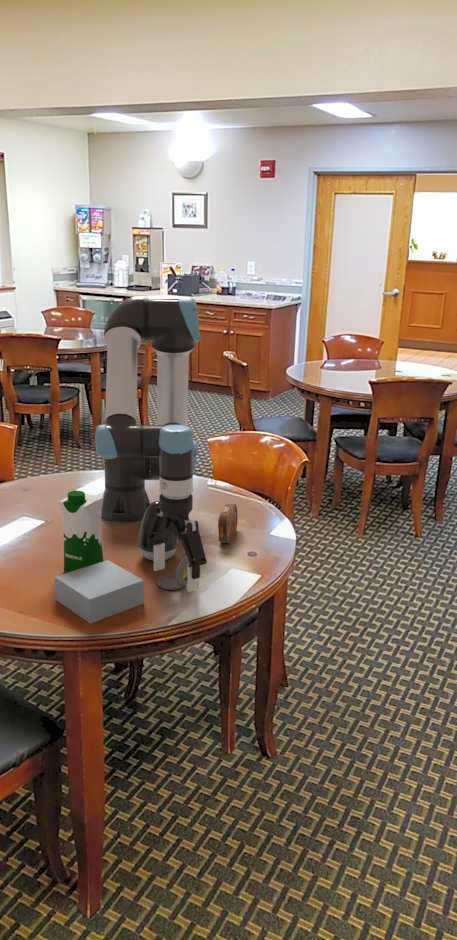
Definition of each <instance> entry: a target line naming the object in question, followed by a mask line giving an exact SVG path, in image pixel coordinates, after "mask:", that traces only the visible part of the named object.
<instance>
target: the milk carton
mask: <svg viewBox="0 0 457 940" xmlns="http://www.w3.org/2000/svg"><path fill="white" fill-rule="evenodd" d="M103 498H104V497H103V496H99V495H95V494H89V493H85V492H84V491H81V490H71V491H69V492H68V493H67V497H65V498H63V499H61V500H59V501H58V503H59V507H60V511H61V515H62V536H63V570H64V571H68V572H72V571H75V570H78V569H81V568H84V567H87V566H91V565H94V564H97V563H100V562H103V561H104V553H103V541H102V540H103V539H102V538H103V534H102V517H101V512H102V505H103Z"/></svg>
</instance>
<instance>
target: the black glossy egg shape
mask: <svg viewBox="0 0 457 940" xmlns="http://www.w3.org/2000/svg"><path fill="white" fill-rule="evenodd" d="M155 507H159V500H155V501H152V502H150V505H149V506H148V507H147V509H146V511H145V513H144V516H143V519H141V523H140V526H139V532H138V539H137V546H138V548H139V550H140V553H141V555H142V556H143V557H144V558H145V559H147V560H148V561H151V562H154V555H153V544H152V542H151V539H148V538H147V535H148V532H149V529H150V526H151V523H152V520H153V517H154V512H155ZM161 543H164V544H165V561H166V560H169V559H170V558H172V557H173V555H174V554H175V553H176V551H177V547H178V545H179V539H178V538H177V536H176V535H175V534H174V533H173V532H169V533H168V534H167V536H166V537H165V538H164V540H163V542H161Z"/></svg>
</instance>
